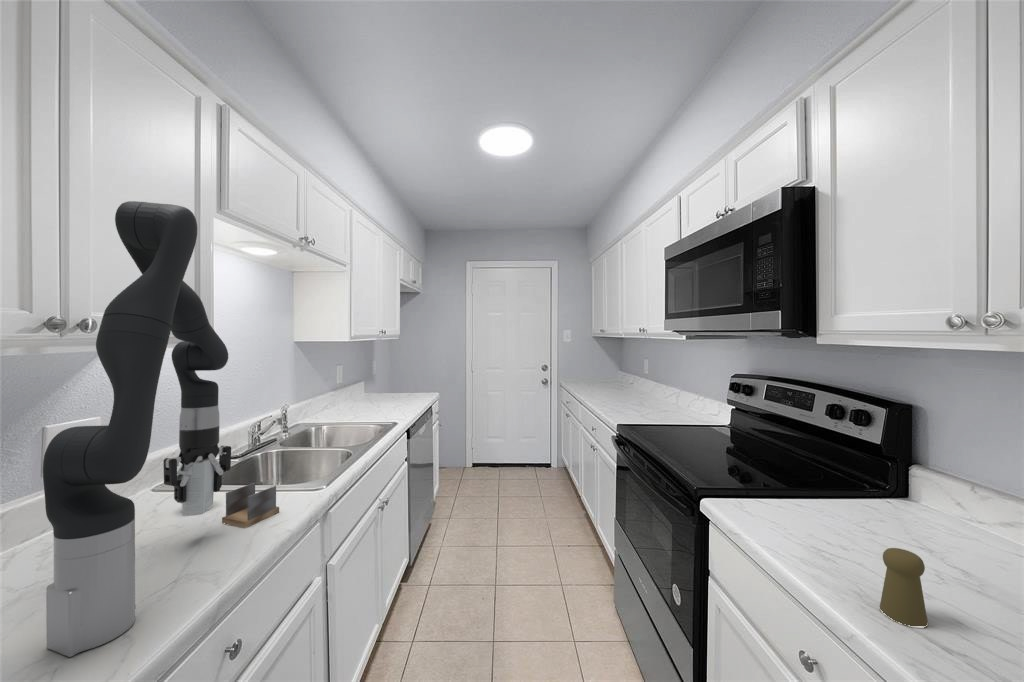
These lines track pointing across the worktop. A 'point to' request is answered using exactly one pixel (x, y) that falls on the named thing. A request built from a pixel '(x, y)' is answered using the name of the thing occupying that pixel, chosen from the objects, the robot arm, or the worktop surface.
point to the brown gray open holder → (249, 506)
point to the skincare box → (199, 488)
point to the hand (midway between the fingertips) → (199, 496)
